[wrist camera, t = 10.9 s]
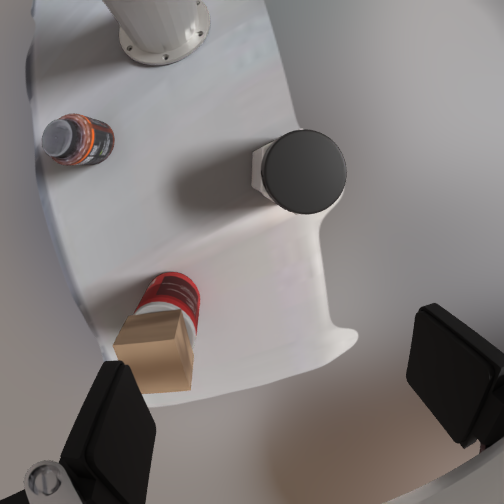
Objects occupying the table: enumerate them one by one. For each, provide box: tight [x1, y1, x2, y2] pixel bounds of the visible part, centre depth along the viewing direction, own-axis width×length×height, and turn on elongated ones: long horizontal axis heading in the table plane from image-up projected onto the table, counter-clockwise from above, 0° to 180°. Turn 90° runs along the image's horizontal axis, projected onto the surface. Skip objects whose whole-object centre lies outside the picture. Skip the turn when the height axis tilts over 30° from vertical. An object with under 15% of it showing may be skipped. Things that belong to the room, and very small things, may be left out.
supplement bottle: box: [42, 114, 114, 165], centre depth 30 cm, size 6×6×11 cm
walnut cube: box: [113, 309, 194, 394], centre depth 28 cm, size 6×6×6 cm
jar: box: [251, 128, 347, 215], centre depth 33 cm, size 9×8×12 cm
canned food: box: [133, 272, 200, 350], centre depth 37 cm, size 8×8×11 cm
